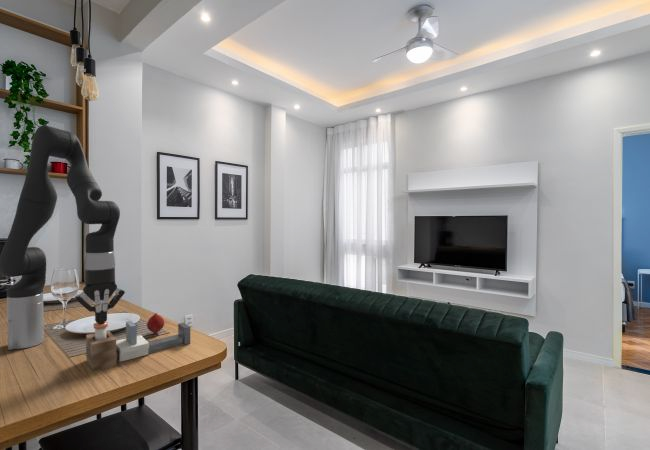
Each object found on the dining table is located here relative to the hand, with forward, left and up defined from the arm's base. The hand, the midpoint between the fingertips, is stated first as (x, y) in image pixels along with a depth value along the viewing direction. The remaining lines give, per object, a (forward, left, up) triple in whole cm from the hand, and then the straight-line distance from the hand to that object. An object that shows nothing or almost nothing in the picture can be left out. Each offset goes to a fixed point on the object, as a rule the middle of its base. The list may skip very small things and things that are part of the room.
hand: (101, 323), depth 101 cm
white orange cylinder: (0, 0, -8) cm, 8 cm away
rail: (+13, 0, -12) cm, 18 cm away
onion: (+20, +15, -13) cm, 28 cm away
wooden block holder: (0, 0, -12) cm, 12 cm away
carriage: (+8, 0, -12) cm, 15 cm away
